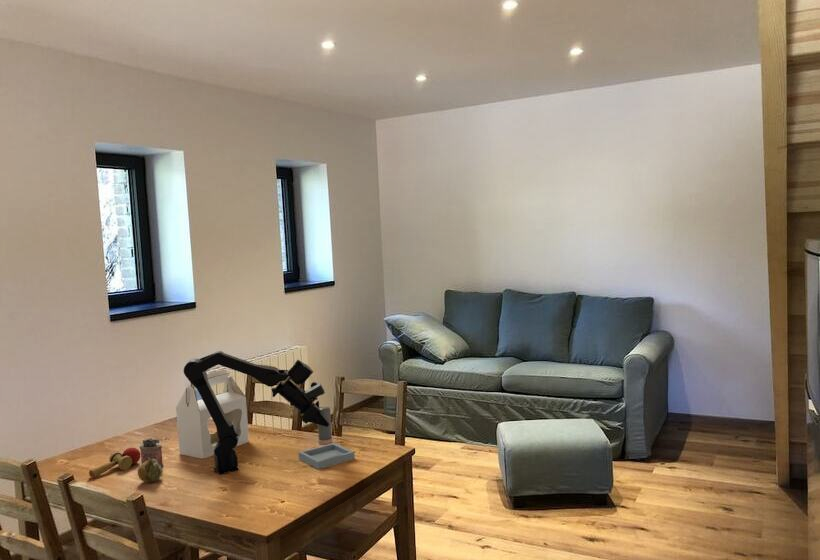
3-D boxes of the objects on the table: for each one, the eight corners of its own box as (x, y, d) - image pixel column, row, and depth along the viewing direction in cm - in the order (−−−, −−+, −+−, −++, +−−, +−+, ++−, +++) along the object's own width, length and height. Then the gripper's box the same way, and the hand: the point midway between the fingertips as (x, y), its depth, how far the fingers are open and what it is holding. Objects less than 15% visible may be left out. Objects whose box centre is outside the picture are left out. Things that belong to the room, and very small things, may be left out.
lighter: (139, 468, 232) (136, 440, 231) (145, 465, 235) (142, 437, 234) (159, 469, 230) (157, 440, 229) (165, 465, 233) (163, 437, 232)
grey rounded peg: (328, 445, 227) (326, 410, 226) (316, 444, 229) (314, 410, 228) (334, 441, 232) (332, 406, 231) (322, 440, 233) (320, 406, 232)
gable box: (202, 459, 238) (196, 381, 236) (178, 454, 245) (172, 378, 243) (249, 441, 256) (244, 369, 254) (226, 437, 263) (220, 366, 261)
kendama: (101, 484, 222) (147, 460, 237) (95, 466, 222) (142, 443, 236) (89, 484, 227) (135, 460, 241) (82, 467, 226) (129, 444, 241)
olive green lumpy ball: (167, 476, 223) (166, 452, 222) (158, 485, 215) (156, 460, 214) (145, 476, 223) (143, 453, 222) (134, 486, 215) (132, 461, 214)
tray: (318, 469, 221) (317, 461, 220) (298, 459, 232) (298, 452, 232) (354, 459, 229) (354, 451, 229) (334, 449, 240) (333, 442, 240)
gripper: (309, 382, 219) (345, 412, 221) (309, 371, 237) (342, 399, 239) (286, 408, 218) (323, 438, 220) (288, 395, 236) (321, 423, 239)
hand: (328, 423), depth 230 cm, fingers closed on grey rounded peg, 4 cm apart
